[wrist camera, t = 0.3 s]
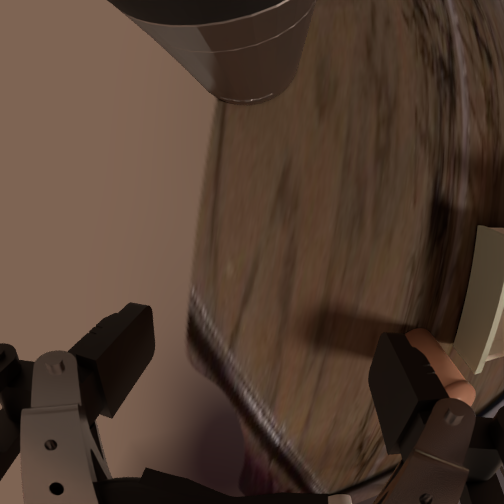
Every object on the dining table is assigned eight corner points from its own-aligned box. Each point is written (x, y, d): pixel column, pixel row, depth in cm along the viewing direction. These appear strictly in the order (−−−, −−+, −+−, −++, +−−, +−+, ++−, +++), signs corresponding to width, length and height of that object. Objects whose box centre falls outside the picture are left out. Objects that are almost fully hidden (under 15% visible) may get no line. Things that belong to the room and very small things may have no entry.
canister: (397, 329, 30) (435, 392, 20) (438, 324, 30) (483, 380, 19) (388, 368, 32) (417, 433, 21) (427, 362, 31) (463, 421, 21)
